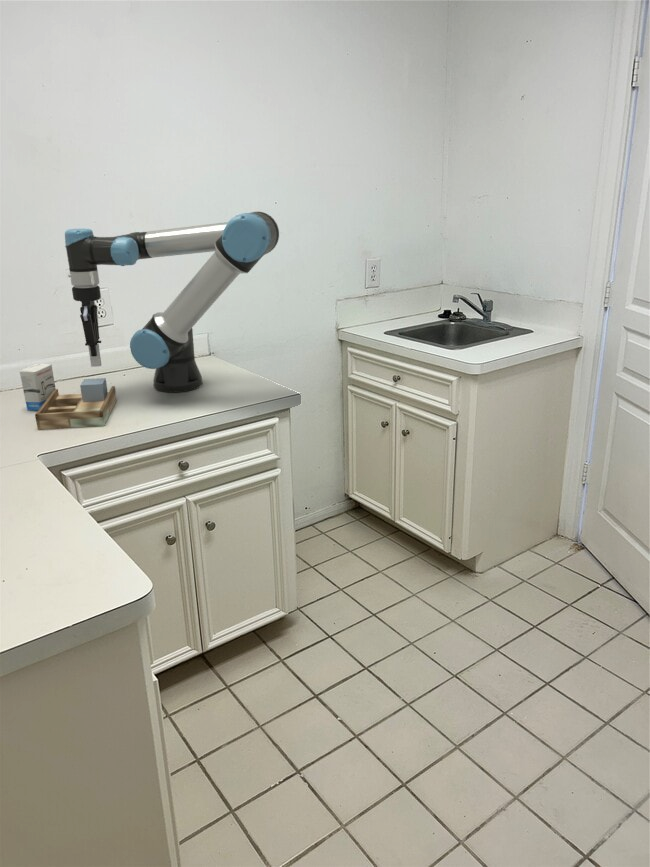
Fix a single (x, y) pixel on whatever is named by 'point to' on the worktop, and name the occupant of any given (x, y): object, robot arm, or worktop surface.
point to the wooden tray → (74, 411)
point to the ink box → (37, 384)
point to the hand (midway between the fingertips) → (96, 365)
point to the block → (94, 390)
